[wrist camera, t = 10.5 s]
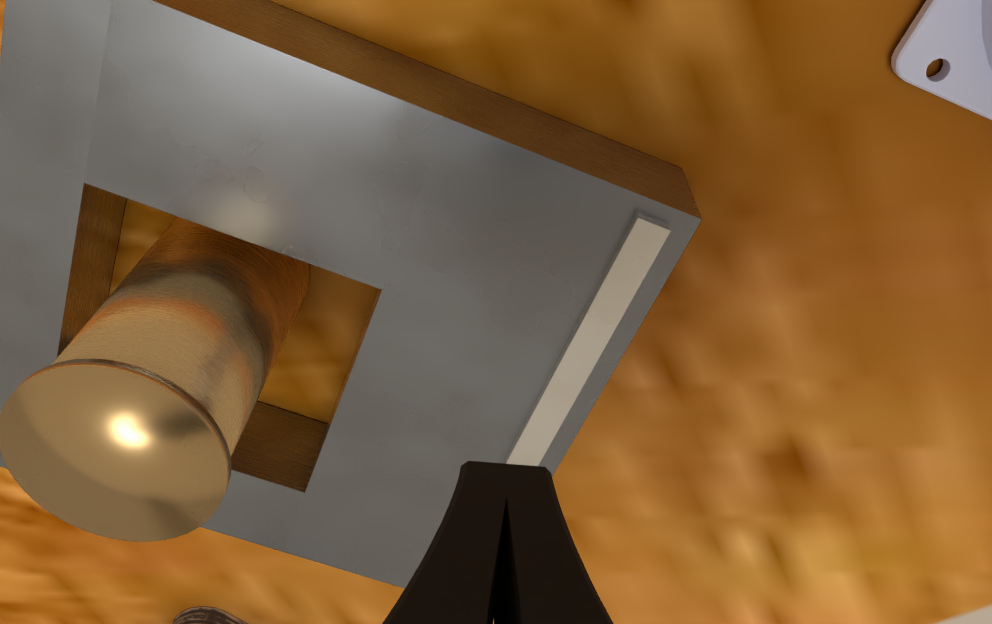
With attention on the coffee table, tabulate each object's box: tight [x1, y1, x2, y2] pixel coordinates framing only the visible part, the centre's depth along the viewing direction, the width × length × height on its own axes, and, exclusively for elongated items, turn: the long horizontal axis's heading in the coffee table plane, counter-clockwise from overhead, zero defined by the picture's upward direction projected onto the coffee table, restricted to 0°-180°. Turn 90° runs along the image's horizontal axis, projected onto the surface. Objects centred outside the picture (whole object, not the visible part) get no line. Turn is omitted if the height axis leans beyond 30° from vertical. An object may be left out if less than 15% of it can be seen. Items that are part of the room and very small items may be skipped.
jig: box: [0, 0, 702, 588], centre depth 22 cm, size 15×14×3 cm
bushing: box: [0, 217, 310, 542], centre depth 20 cm, size 4×4×8 cm
